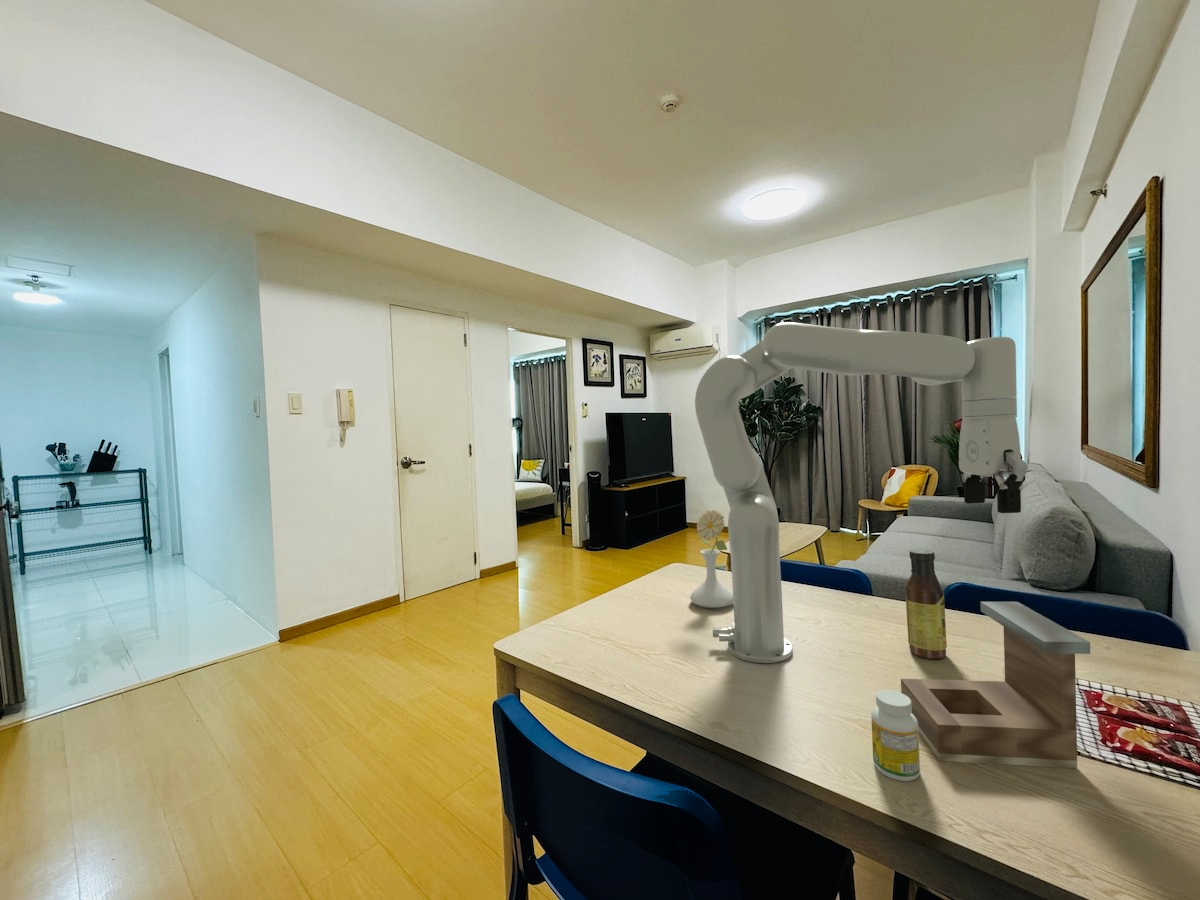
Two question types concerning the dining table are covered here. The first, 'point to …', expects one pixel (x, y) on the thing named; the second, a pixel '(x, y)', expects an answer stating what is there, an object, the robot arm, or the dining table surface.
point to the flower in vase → (711, 564)
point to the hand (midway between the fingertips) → (990, 507)
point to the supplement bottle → (895, 736)
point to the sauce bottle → (925, 607)
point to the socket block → (1008, 698)
